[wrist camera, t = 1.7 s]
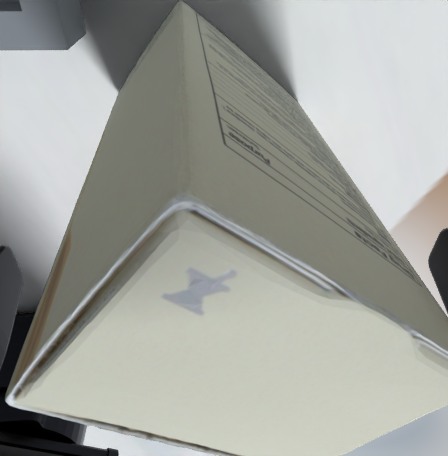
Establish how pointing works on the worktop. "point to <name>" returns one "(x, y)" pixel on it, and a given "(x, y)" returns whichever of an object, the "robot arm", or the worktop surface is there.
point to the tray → (40, 24)
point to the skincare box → (228, 275)
